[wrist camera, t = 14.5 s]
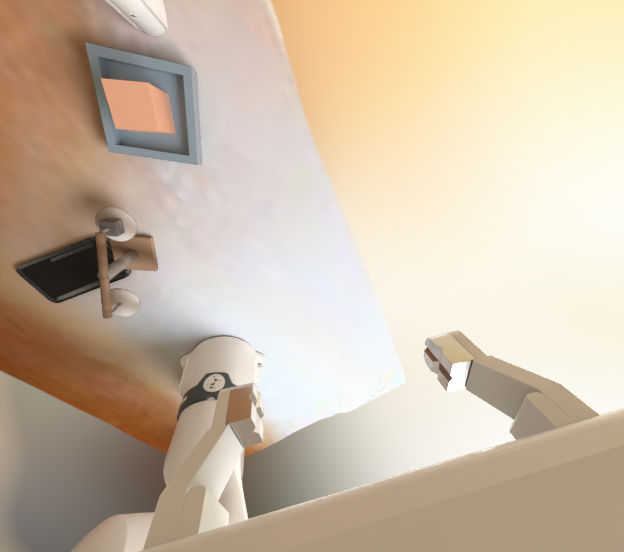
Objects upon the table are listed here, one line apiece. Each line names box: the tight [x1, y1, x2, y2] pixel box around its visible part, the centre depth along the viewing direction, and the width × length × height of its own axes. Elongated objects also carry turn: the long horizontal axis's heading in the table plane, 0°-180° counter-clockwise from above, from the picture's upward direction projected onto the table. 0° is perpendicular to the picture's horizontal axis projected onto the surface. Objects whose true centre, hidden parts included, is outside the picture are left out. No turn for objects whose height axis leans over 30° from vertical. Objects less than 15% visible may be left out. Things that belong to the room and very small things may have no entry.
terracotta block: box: [101, 78, 176, 134], centre depth 28 cm, size 4×4×6 cm
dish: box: [85, 42, 202, 165], centre depth 31 cm, size 11×11×2 cm
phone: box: [16, 237, 131, 303], centre depth 40 cm, size 8×1×15 cm
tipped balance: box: [95, 207, 158, 318], centre depth 35 cm, size 17×6×11 cm, turn 171°
